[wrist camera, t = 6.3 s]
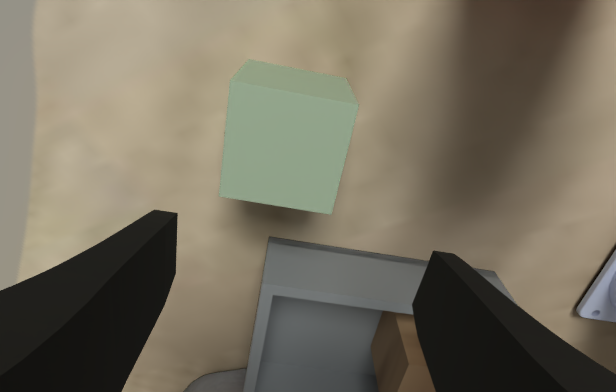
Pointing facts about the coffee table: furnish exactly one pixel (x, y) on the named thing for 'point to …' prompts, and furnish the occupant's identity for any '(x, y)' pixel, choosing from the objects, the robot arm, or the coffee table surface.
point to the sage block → (286, 136)
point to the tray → (327, 315)
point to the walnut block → (399, 355)
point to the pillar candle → (219, 382)
